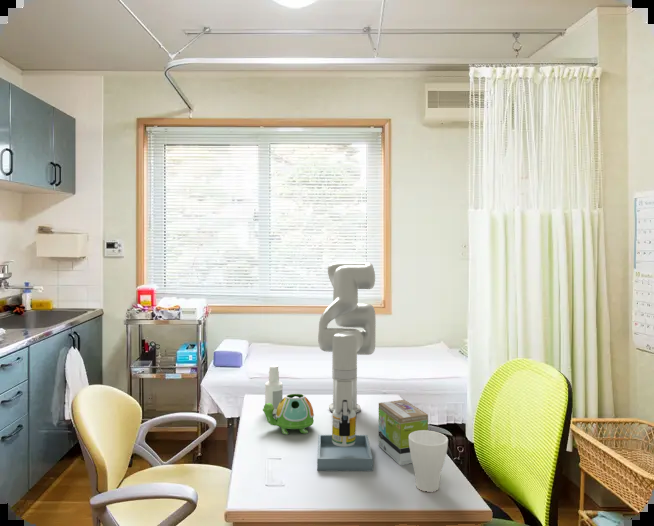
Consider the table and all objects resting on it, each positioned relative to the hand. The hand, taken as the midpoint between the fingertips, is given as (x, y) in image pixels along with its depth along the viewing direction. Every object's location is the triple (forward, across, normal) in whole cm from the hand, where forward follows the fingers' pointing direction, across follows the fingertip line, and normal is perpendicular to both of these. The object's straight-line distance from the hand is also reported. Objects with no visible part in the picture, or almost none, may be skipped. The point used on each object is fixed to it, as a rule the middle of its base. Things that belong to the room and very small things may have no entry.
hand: (344, 430), depth 149 cm
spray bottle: (+8, -41, -26) cm, 49 cm away
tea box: (+9, -3, +18) cm, 21 cm away
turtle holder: (+9, -23, -18) cm, 30 cm away
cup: (+9, +18, +22) cm, 30 cm away
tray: (+8, 0, 0) cm, 8 cm away
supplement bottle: (+4, 0, 0) cm, 4 cm away
